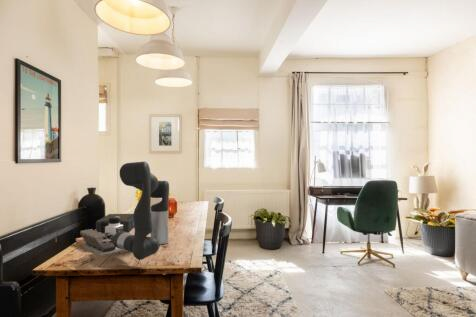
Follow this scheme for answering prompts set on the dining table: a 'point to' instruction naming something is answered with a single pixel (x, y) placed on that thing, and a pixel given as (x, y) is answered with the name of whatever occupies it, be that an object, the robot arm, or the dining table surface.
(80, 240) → the tile
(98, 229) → the cash box
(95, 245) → the tile
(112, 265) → the dining table surface
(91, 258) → the dining table surface
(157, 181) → the robot arm
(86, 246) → the felt strip
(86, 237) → the tile
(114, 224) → the medicine bottle
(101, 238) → the tile
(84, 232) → the tile
